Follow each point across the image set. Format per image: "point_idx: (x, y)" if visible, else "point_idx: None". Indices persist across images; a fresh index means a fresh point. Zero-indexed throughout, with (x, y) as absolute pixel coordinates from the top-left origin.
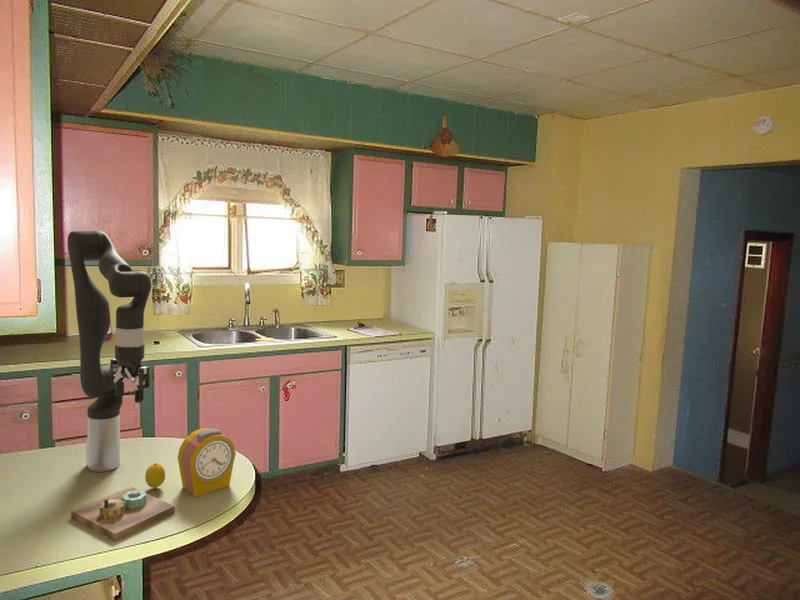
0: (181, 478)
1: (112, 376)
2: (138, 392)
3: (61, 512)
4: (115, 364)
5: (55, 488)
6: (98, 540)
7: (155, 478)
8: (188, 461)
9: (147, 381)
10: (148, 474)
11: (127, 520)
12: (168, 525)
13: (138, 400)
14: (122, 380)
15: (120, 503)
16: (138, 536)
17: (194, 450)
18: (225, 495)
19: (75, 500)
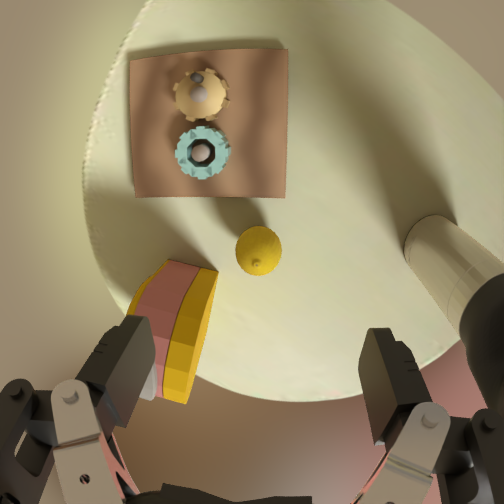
0: (214, 279)
1: (477, 440)
2: (86, 372)
3: (325, 56)
4: None
5: (429, 122)
6: (162, 43)
7: (240, 238)
8: (151, 292)
9: (22, 455)
10: (256, 234)
11: (153, 100)
12: (111, 157)
13: (112, 328)
14: (387, 452)
15: (189, 108)
16: (119, 99)
17: None
18: (135, 291)
19: (352, 104)
